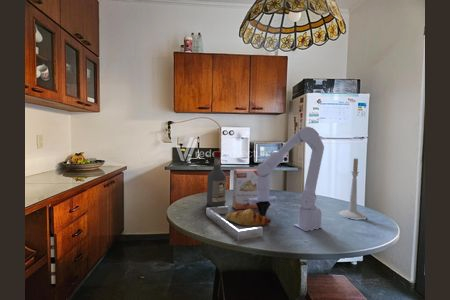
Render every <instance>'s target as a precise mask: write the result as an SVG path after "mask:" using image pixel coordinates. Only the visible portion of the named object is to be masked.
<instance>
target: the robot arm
mask: <svg viewBox="0 0 450 300" xmlns="http://www.w3.org/2000/svg"><path fill="white" fill-rule="evenodd" d="M301 143H306V144H307V145H308V146H309V148H310V149H311V153H310V154H311V155H310V159H309V165H308V168H307V169H308V170H307V174H306V180H305V182H304V188H303V191H302V192H303V193H302V194H301V196H300V197H299V199H298V203H299V205H298V218H297V220H298V221H297V223H294V224H293V226H295V227H297V228H298V229H300V230H303V231H304V232H309V230H310V231H314V229H316V230H320V229H319V228H322V229H323V227H322V211H321V209H320V207H318V206H317V205H316V204H315V203H316V201H317V195H316V189H317V184H318V180H319V173H320V168H321V165H322V159H323V155H324V151H325V145H324V143H323V141H322V139H321V136H320V133H319V132H317V130H316V129H315V128H314V127H310V126H303V127H302V128H301V129H300V130H299V131H297V132H296V133H294V134H293V135H292V136H291V137H290V138H289V139H288V140H287V141H286V142H285V143H284V144H283V145H282V146H281V148H280V149H278V150H274V151H273V152H272V151H271V152H270V153H269V155H268V157H266V159H263V160H262V162H261V163H259V164H258V165H257V166H256V169H257V173H258V185H257V197H255V198H251V199H249V203H250V204H253V203H256V205H257V207H258V208H257V209H258V213H259V214H260V215H261V216H265V217H266V214H267V211H268V210H269V207H270V206H271V202H277V201H278V197H277V196H272V195H270V192H271V191H270V189H271V188H270V187H271V173H272V171H273V170H274V169H276V168H277V166H279V165H280V164H281V162H283V160H284V156H285V155H286V154H287V153H288V152H290V151H291V150H292V148H294V147H295V146H296V145H297V144H301Z"/></svg>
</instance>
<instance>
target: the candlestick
mask: <svg viewBox="0 0 450 300" xmlns="http://www.w3.org/2000/svg"><path fill="white" fill-rule="evenodd" d="M358 166H359V158H353V164H352V170H351V171H350V172H351V176H352V179H351V180H352V181H351V189H350V196H349V205H348V209H344V210H341V211H339V212H338V215H339V214H340V215H342V216H345V217H349V218H365V217H367V215H365V213H363V212H360V211H358V209H357V204H358V202H357V197H358V195H357V193H358V190H357V189H358V182H357V181H358V179H357V177H358V176H359V175H358V174H359V173H360V172H359V171H358V168H359V167H358Z"/></svg>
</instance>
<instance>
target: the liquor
mask: <svg viewBox="0 0 450 300" xmlns="http://www.w3.org/2000/svg"><path fill="white" fill-rule="evenodd" d="M213 157H214V160H213V161H214V162H213V168H212V170H211V171H210V172H209V173H208V174H207V178H206V179H207V183H206V184H207V185H206V204H207V206H210V207H220V206H226V201H227V199H226V194H227V193H226V192H227V175H226V173H225V172H224V171H223V169H222V167H221V157H222V151H218V150H216V151H214V153H213Z"/></svg>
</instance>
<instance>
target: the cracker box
mask: <svg viewBox="0 0 450 300" xmlns="http://www.w3.org/2000/svg"><path fill="white" fill-rule="evenodd" d="M232 181H233V183H232V208H234V209H235V210H247V209H258V207H257V205H256V203H253V204H250V203H249V199H251V198H255V197H257V185H258V173H257V168H256V169H253V168H250V169H243V168H242V169H233V180H232Z"/></svg>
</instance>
